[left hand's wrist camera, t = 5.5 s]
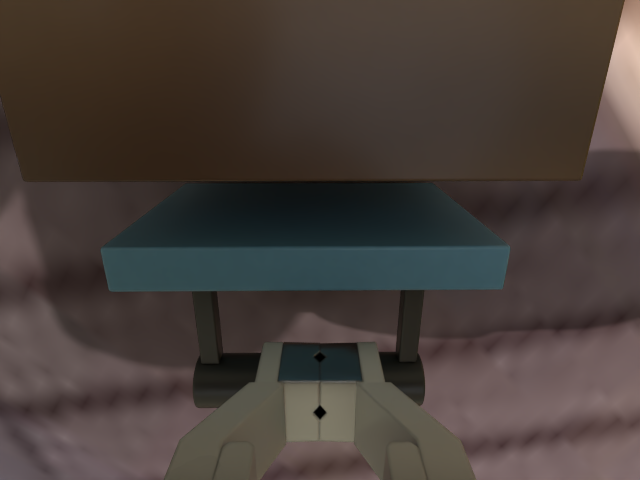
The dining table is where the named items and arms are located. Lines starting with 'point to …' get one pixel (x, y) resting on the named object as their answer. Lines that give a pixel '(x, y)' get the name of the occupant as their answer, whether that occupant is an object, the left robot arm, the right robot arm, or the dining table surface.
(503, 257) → the drawer
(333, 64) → the cabinet
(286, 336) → the dining table surface
